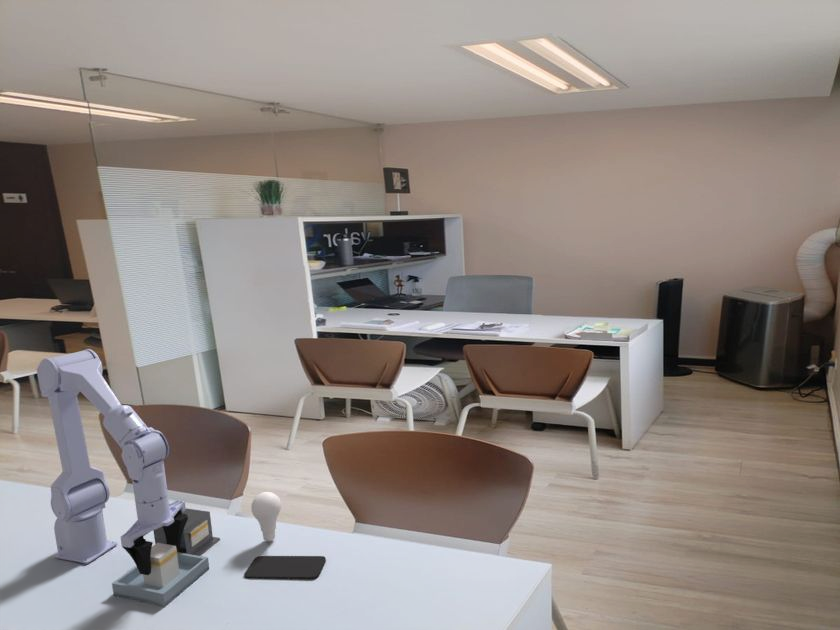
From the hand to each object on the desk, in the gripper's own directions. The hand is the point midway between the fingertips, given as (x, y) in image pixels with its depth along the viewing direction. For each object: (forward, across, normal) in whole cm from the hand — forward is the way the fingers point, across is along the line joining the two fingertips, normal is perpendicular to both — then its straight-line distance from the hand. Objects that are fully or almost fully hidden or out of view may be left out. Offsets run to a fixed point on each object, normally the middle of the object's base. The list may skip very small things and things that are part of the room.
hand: (160, 562), depth 118 cm
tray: (+4, 0, 0) cm, 4 cm away
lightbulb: (+4, +18, -12) cm, 22 cm away
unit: (+4, +11, +4) cm, 12 cm away
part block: (+3, 0, 0) cm, 4 cm away
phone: (+5, +10, -21) cm, 24 cm away
